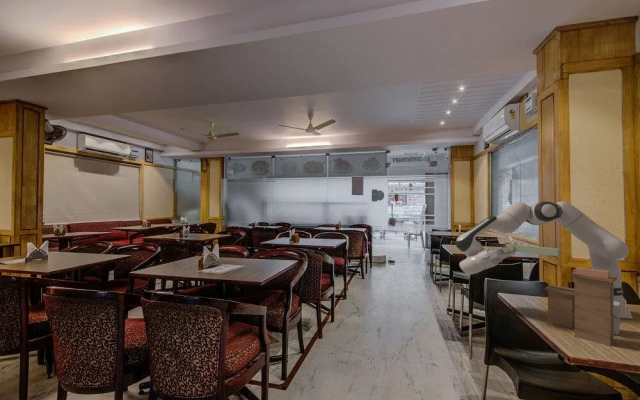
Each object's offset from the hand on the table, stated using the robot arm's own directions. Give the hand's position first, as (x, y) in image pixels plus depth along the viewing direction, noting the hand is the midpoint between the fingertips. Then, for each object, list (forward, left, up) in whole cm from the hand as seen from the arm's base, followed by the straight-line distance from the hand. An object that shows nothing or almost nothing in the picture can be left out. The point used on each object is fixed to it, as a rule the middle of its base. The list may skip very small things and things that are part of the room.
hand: (515, 247), depth 154 cm
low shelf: (-9, +16, -34) cm, 39 cm away
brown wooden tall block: (+1, +29, -34) cm, 45 cm away
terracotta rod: (+4, +29, -8) cm, 31 cm away
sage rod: (0, +7, -2) cm, 7 cm away
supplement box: (-15, +31, -34) cm, 49 cm away
